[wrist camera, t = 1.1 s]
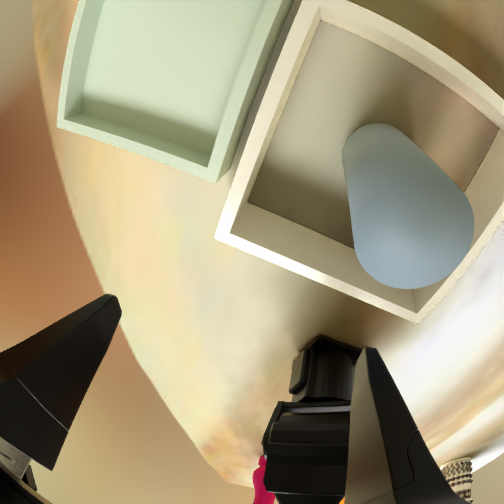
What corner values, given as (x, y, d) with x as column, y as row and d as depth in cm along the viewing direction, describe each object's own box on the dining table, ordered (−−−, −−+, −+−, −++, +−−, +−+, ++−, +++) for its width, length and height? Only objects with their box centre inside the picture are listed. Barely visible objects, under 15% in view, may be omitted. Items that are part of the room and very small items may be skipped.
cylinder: (426, 146, 17) (495, 214, 9) (392, 205, 20) (426, 304, 12) (361, 109, 17) (395, 146, 9) (329, 174, 20) (330, 260, 11)
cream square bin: (510, 125, 14) (545, 143, 10) (408, 284, 23) (417, 324, 19) (312, 5, 13) (308, -14, 10) (233, 206, 23) (213, 238, 19)
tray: (300, -16, 13) (295, -30, 10) (229, 168, 21) (215, 183, 18) (118, -38, 12) (94, -44, 10) (80, 117, 21) (56, 126, 18)
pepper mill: (284, 466, 56) (266, 540, 40) (254, 459, 56) (232, 534, 40) (294, 459, 52) (276, 542, 36) (261, 452, 52) (238, 536, 36)
